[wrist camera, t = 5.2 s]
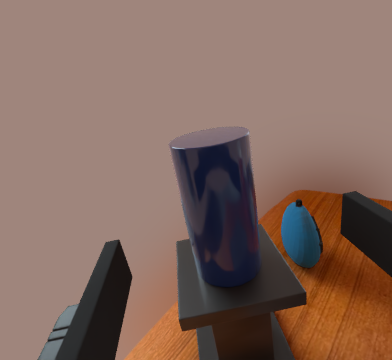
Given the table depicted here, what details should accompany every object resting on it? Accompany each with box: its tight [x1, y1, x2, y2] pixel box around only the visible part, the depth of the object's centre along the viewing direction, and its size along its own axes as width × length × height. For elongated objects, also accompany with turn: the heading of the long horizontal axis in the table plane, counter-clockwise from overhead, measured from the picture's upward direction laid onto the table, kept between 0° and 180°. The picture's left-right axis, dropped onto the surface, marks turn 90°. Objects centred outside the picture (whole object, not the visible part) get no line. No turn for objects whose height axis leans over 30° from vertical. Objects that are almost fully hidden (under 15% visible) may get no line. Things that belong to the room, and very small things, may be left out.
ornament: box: [281, 199, 323, 268], centre depth 34 cm, size 8×5×10 cm, turn 1°
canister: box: [169, 127, 262, 287], centre depth 18 cm, size 6×6×11 cm
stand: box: [176, 224, 306, 360], centre depth 23 cm, size 9×9×12 cm
